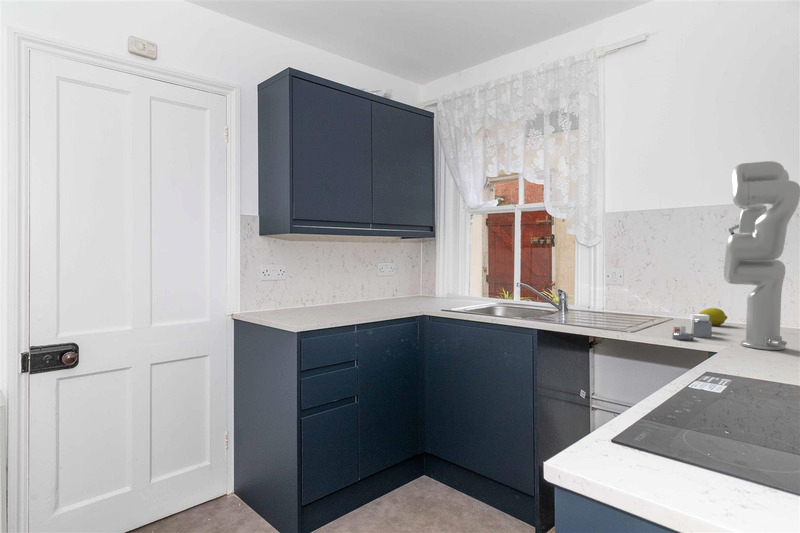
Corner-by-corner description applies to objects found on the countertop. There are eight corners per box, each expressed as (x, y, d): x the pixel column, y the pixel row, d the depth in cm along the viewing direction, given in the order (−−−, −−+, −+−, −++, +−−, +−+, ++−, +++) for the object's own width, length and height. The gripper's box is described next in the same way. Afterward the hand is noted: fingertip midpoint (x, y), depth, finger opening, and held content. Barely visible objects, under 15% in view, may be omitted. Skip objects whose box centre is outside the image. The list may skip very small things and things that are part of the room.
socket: (711, 338, 181) (711, 320, 181) (693, 336, 184) (693, 319, 184) (708, 335, 187) (709, 318, 186) (691, 334, 189) (691, 317, 189)
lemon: (727, 325, 211) (728, 308, 211) (726, 327, 205) (727, 309, 204) (699, 323, 217) (699, 306, 217) (697, 325, 211) (698, 308, 211)
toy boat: (694, 341, 175) (695, 328, 174) (673, 339, 178) (673, 327, 177) (687, 332, 192) (688, 321, 192) (668, 331, 195) (668, 319, 195)
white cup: (693, 331, 195) (693, 315, 194) (687, 329, 201) (687, 313, 201) (711, 332, 193) (712, 316, 193) (705, 329, 200) (705, 313, 199)
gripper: (728, 207, 192) (727, 248, 192) (782, 205, 181) (781, 248, 182) (729, 208, 198) (728, 248, 198) (781, 206, 187) (780, 248, 188)
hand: (753, 248), depth 190 cm, fingers open, 9 cm apart
